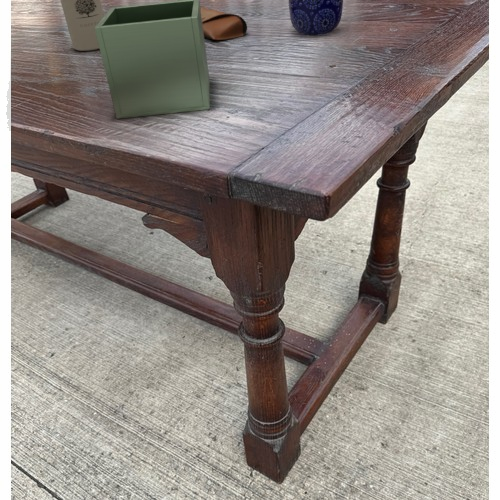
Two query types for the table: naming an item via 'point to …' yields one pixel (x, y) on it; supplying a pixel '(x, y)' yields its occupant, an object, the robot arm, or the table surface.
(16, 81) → the table surface
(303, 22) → the planter
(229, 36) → the sunglasses case
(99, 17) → the travel mug
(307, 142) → the table surface
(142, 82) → the bin
